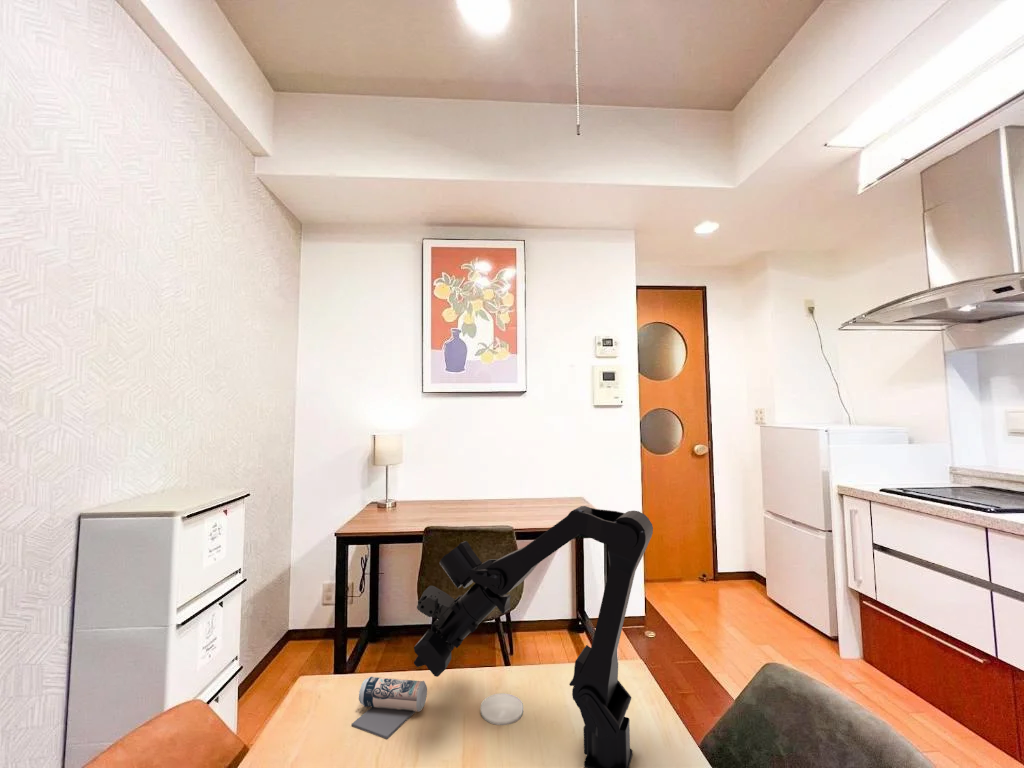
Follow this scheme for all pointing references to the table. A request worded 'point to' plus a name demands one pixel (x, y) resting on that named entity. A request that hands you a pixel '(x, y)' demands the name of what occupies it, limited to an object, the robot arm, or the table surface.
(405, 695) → the beer can
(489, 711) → the coaster
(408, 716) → the mat
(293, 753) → the table surface
